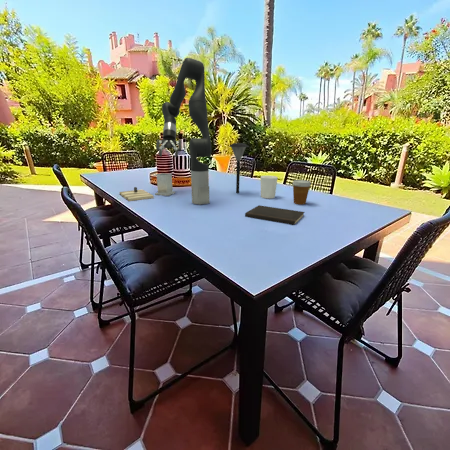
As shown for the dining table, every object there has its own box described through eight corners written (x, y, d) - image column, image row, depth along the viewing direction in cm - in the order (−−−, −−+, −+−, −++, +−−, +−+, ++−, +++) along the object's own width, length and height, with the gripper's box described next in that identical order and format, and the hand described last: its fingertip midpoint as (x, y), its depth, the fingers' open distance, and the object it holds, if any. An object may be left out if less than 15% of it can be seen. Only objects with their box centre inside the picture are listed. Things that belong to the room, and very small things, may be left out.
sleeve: (175, 192, 169) (174, 173, 165) (168, 195, 161) (166, 175, 157) (162, 191, 172) (161, 172, 168) (155, 194, 164) (153, 174, 160)
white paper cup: (277, 199, 156) (278, 178, 152) (260, 198, 156) (261, 178, 152) (274, 195, 165) (276, 175, 161) (258, 195, 165) (259, 175, 161)
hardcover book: (258, 209, 137) (258, 205, 136) (304, 216, 126) (304, 211, 126) (244, 217, 124) (245, 213, 123) (294, 226, 113) (294, 221, 112)
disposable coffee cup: (288, 204, 146) (290, 181, 142) (293, 200, 154) (295, 179, 150) (306, 206, 142) (309, 183, 138) (310, 202, 149) (312, 180, 146)
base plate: (153, 198, 156) (152, 188, 154) (128, 201, 148) (127, 191, 147) (142, 191, 171) (141, 183, 170) (119, 194, 164) (118, 185, 162)
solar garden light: (247, 191, 175) (249, 143, 165) (247, 195, 164) (249, 144, 154) (228, 190, 176) (229, 142, 166) (227, 195, 165) (227, 143, 155)
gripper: (156, 127, 157) (154, 152, 152) (181, 129, 158) (180, 153, 153) (158, 135, 164) (156, 159, 159) (182, 136, 165) (181, 160, 160)
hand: (168, 156), depth 156 cm, fingers open, 8 cm apart
